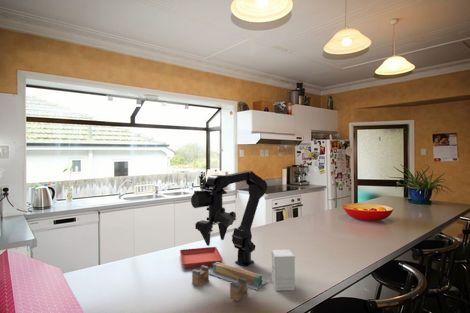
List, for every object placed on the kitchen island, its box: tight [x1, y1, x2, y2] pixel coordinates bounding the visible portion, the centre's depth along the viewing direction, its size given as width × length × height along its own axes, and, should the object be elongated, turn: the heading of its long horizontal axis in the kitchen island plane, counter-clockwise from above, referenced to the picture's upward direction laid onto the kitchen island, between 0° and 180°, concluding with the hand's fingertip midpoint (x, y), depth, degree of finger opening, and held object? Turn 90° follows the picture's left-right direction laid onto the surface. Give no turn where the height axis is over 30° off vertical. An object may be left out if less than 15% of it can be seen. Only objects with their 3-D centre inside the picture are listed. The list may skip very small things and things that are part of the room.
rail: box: [212, 262, 263, 286], centre depth 109 cm, size 3×22×3 cm, turn 54°
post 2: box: [229, 277, 248, 302], centre depth 95 cm, size 6×3×5 cm, turn 144°
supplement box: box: [271, 249, 296, 292], centre depth 103 cm, size 7×7×13 cm
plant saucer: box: [179, 246, 224, 269], centre depth 127 cm, size 18×18×3 cm
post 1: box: [191, 265, 210, 287], centre depth 106 cm, size 6×3×5 cm, turn 144°
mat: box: [209, 269, 268, 291], centre depth 109 cm, size 8×24×1 cm, turn 54°
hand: (215, 242), depth 114 cm, fingers open, 9 cm apart
